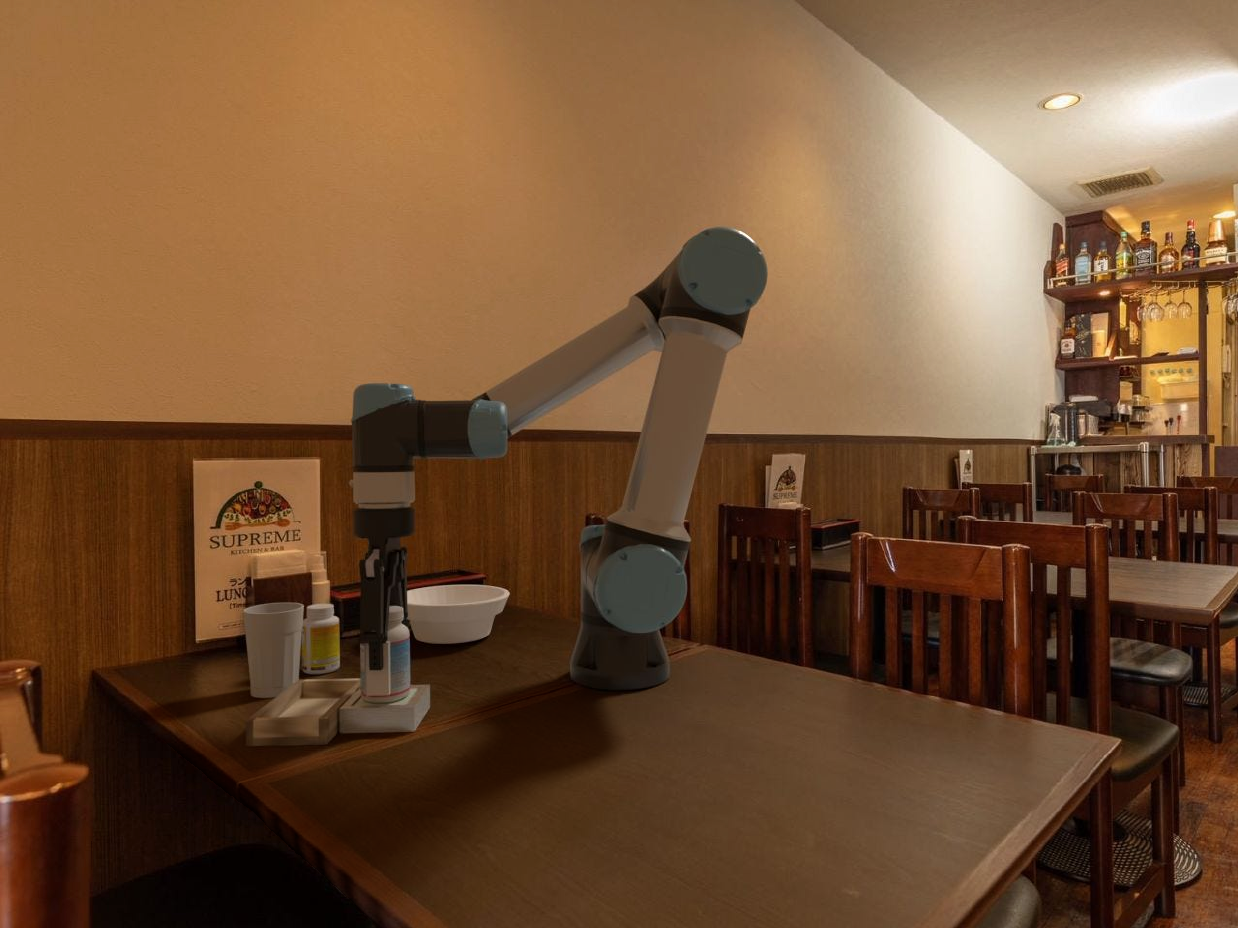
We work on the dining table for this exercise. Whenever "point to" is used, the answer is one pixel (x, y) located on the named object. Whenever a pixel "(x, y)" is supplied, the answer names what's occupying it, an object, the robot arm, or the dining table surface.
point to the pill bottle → (392, 660)
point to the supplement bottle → (320, 640)
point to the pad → (399, 702)
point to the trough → (301, 714)
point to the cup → (273, 646)
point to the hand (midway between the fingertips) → (386, 685)
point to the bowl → (454, 612)
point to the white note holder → (384, 714)
